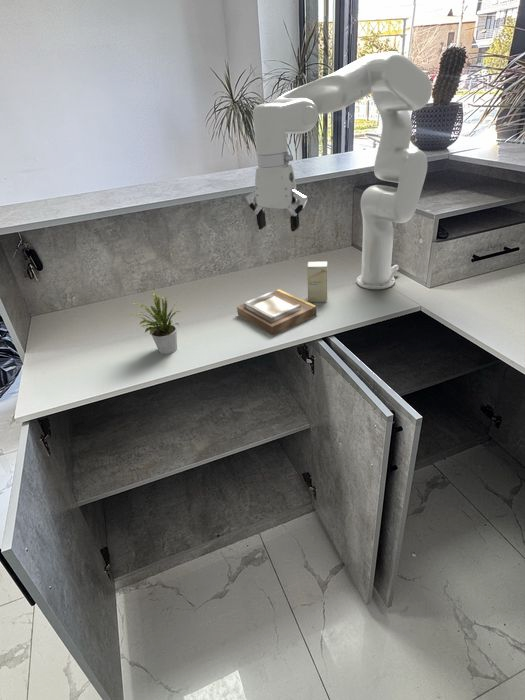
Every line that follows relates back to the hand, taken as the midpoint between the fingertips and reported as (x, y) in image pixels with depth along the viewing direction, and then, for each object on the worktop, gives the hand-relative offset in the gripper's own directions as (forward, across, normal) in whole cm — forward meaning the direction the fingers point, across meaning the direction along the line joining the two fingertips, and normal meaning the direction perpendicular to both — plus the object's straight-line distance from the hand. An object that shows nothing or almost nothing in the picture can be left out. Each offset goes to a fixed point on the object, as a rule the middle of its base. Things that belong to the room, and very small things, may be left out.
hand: (278, 228), depth 117 cm
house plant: (+28, +26, +26) cm, 46 cm away
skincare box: (+29, -4, -17) cm, 33 cm away
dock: (+28, +4, -2) cm, 29 cm away
